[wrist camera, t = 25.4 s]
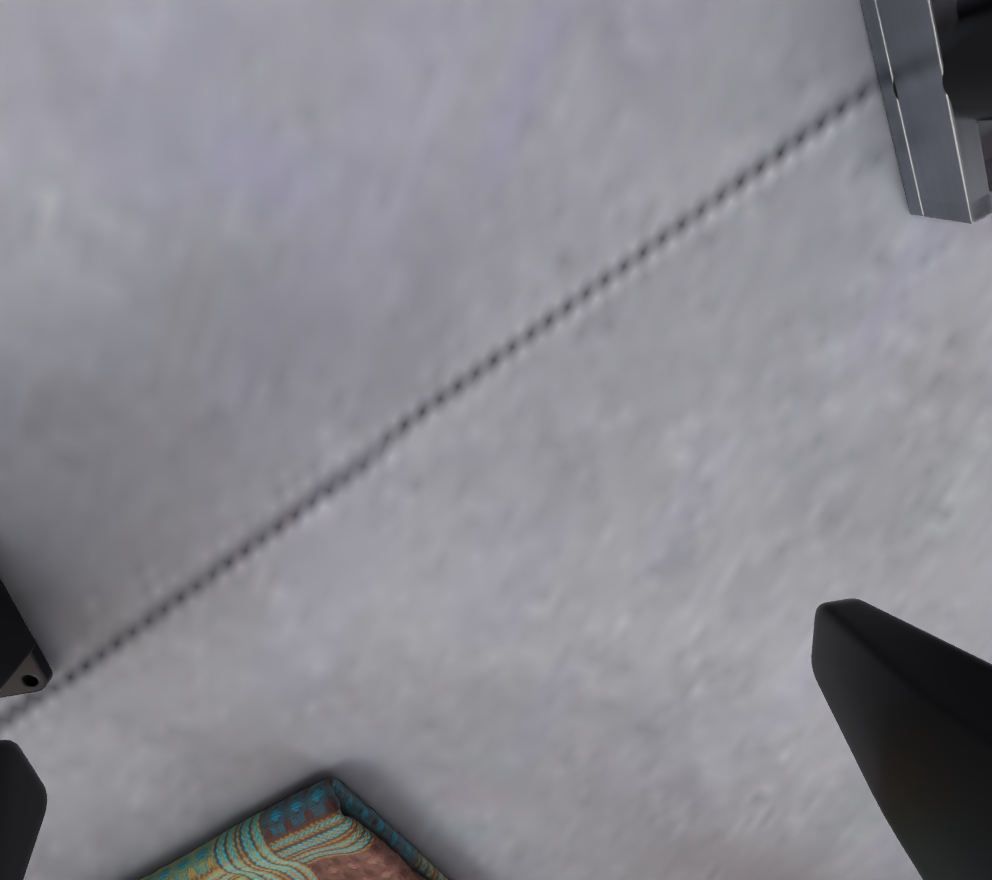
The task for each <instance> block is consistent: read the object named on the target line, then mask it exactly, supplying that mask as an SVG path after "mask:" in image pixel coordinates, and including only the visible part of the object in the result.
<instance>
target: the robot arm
mask: <svg viewBox="0 0 992 880" xmlns="http://www.w3.org/2000/svg"><path fill="white" fill-rule="evenodd" d="M811 658H812V668H813V672H814V675H815V678H816V680H817V682H818V685H819V687H820V689H821V691H822V693H823V695H824V697H825V699H826V701H827V703H828V705H829V707H830V709H831V711H832V713H833V715H834V717H835V719H836V721H837V723H838V725H839V727H840V729H841V731H842V733H843V735H844V737H845V739H846V741H847V743H848V745H849V747H850V749H851V751H852V753H853V755H854V757H855V759H856V761H857V764H858V766H859V768H860V770H861V772H862V774H863V776H864V778H865V780H866V782H867V784H868V786H869V788H870V790H871V792H872V794H873V796H874V798H875V799H876V801H877V803H878V805H879V807H880V809H881V811H882V813H883V815H884V816H885V818H886V820H887V821H888V823H889V825H890V826H891V828H892V830H893V832H894V833H895V835H896V837H897V838H898V840H899V842H900V843H901V845H902V846H903V848H904V850H905V851H906V853H907V854H908V856H909V858H910V859H911V861H912V863H913V864H914V866H915V867H916V869H917V871H918V872H919V874H920V875H921V877H922V879H923V880H992V664H990V663H988V662H986V661H984V660H982V659H980V658H978V657H976V656H974V655H972V654H970V653H968V652H966V651H963V650H961V649H959V648H957V647H955V646H953V645H951V644H949V643H947V642H945V641H943V640H941V639H939V638H937V637H935V636H933V635H931V634H929V633H927V632H925V631H923V630H921V629H919V628H917V627H915V626H913V625H911V624H909V623H906V622H904V621H902V620H900V619H898V618H896V617H894V616H892V615H890V614H888V613H886V612H884V611H882V610H880V609H878V608H876V607H874V606H872V605H870V604H868V603H866V602H864V601H861V600H859V599H844V600H838V601H832V602H826V603H823V604H821V605H819V607H818V608H817V610H816V614H815V622H814V633H813V645H812V656H811ZM52 674H53V673H52V670H51V668H50V666H49V664H48V663H47V661H46V659H45V657H44V656H43V654H42V652H41V650H40V648H39V647H38V645H37V643H36V641H35V640H34V638H33V636H32V634H31V633H30V631H29V629H28V627H27V625H26V624H25V622H24V620H23V618H22V617H21V615H20V613H19V611H18V610H17V608H16V606H15V604H14V602H13V601H12V599H11V597H10V595H9V594H8V592H7V590H6V588H5V587H4V585H3V583H2V581H1V579H0V698H1V697H7V696H13V695H19V694H25V693H31V692H37V691H40V690H42V689H43V688H44V687H45V686H46V685H47V684H48V682H49V681H50V679H51V678H52ZM31 675H32V676H31ZM33 676H35V677H33ZM46 806H47V793H46V789H45V787H44V784H43V783H42V781H41V780H40V778H39V777H38V775H37V773H36V772H35V770H34V769H33V767H32V766H31V764H30V762H29V761H28V759H27V758H26V756H25V755H24V753H23V751H22V750H21V748H20V747H19V746H18V745H17V744H16V743H14V742H12V741H10V740H0V880H23V878H24V875H25V872H26V869H27V866H28V863H29V860H30V857H31V854H32V851H33V848H34V845H35V842H36V839H37V836H38V833H39V830H40V827H41V824H42V821H43V818H44V815H45V811H46Z"/></svg>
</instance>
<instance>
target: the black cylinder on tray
mask: <svg viewBox="0 0 992 880" xmlns="http://www.w3.org/2000/svg"><path fill="white" fill-rule="evenodd" d="M860 2H861V6H862V10H863V15H864V19H865V23H866V27H867V32H868V36H869V40H870V44H871V49H872V53H873V57H874V62H875V66H876V70H877V74H878V79H879V83H880V87H881V92H882V96H883V100H884V104H885V109H886V113H887V117H888V121H889V126H890V130H891V134H892V139H893V143H894V147H895V151H896V156H897V160H898V164H899V169H900V173H901V177H902V181H903V186H904V190H905V194H906V199H907V203H908V207H909V211H910V214H912V215H919V216H925V217H931V218H937V219H944V220H951V221H957V222H964V223H970V224H972V223H974V222H976V221H978V220H980V219H982V218H984V217H986V216H988V215H990V214H992V0H860Z"/></svg>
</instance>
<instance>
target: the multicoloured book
mask: <svg viewBox="0 0 992 880" xmlns="http://www.w3.org/2000/svg"><path fill="white" fill-rule="evenodd" d="M140 880H448V879H447V878H445V877H444V875H443V874H442V873H441V872H440V871H438V870H437V869H436V868H435V867H434V866H433V865H432V864H431V863H430V862H429V861H428V860H426V859H425V858H424V857H423V856H422V855H421V854H420V853H419V852H418V851H417V850H416V849H415V848H414V847H412V846H411V845H410V844H408V843H407V841H406V840H405V839H404V838H403V837H402V836H401V835H400V834H399V833H397V832H395V831H394V830H393V829H392V827H391V826H390V825H389V824H388V823H387V822H386V821H384V820H382V819H381V818H380V817H379V816H378V815H377V814H376V813H375V811H374V810H373V809H372V808H370V807H368V806H366V805H365V804H363V802H362V801H361V800H360V798H359V797H358V796H356V795H355V794H353V793H351V792H350V791H349V790H348V789H347V787H346V786H345V785H344V784H343V783H342V782H340V781H338V780H337V779H336V778H335V777H329V778H326V779H324V780H322V781H320V782H318V783H316V784H314V785H312V786H310V787H308V788H306V789H304V790H302V791H300V792H298V793H296V794H294V795H292V796H290V797H288V798H286V799H284V800H282V801H280V802H279V803H277V804H275V805H273V806H271V807H268V808H266V809H265V810H263V811H262V812H260V813H258V814H256V815H254V816H252V817H250V818H248V819H246V820H245V821H243V822H241V823H239V824H237V825H236V826H234V827H232V828H230V829H228V830H227V831H225V832H224V833H222V834H220V835H218V836H216V837H215V838H214V839H212V840H211V841H209V842H207V843H206V844H204V845H202V846H200V847H198V848H196V849H195V850H193V851H192V852H190V853H189V854H187V855H185V856H183V857H181V858H179V859H177V860H175V861H174V862H172V863H171V864H169V865H167V866H164V867H162V868H160V869H159V870H157V871H156V872H154V873H153V874H151V875H149V876H146V877H143V878H142V879H140Z"/></svg>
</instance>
